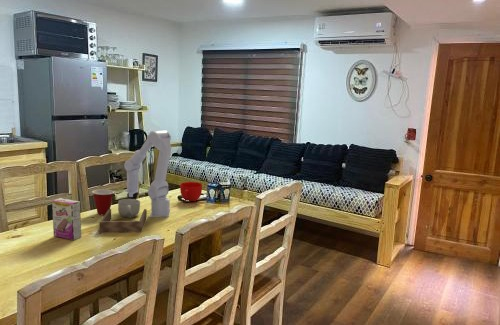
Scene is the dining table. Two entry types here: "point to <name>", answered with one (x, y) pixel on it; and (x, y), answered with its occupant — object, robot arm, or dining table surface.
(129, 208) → the teacup
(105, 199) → the plastic cup
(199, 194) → the ceramic cup
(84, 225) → the dining table surface
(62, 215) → the candy bar box
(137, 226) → the cubby
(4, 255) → the dining table surface
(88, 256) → the dining table surface
